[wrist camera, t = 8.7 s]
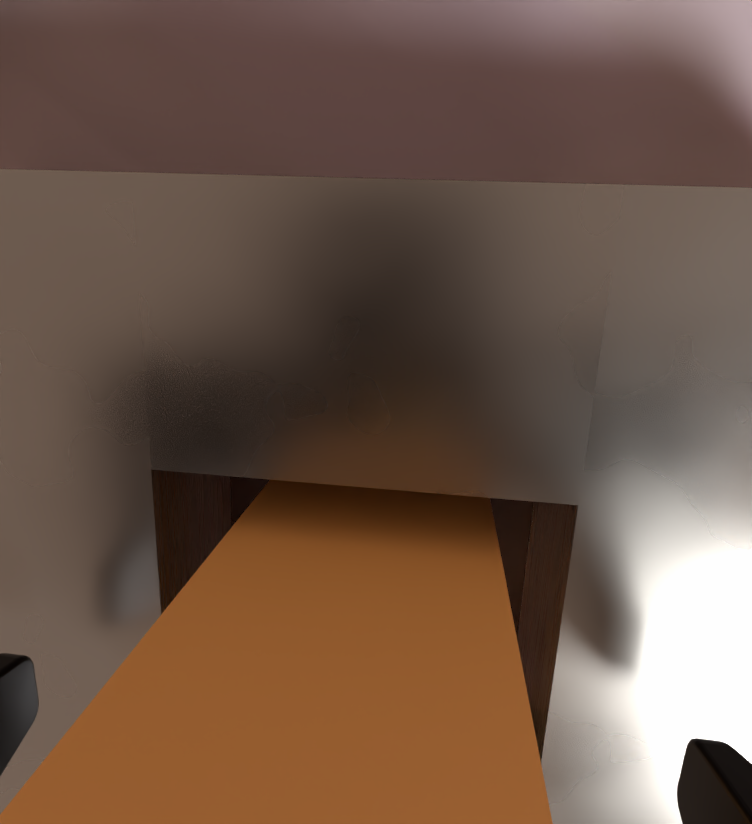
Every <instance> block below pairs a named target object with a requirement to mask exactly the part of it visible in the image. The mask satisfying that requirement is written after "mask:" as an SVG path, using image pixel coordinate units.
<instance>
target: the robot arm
mask: <svg viewBox="0 0 752 824" xmlns="http://www.w3.org/2000/svg"><path fill="white" fill-rule="evenodd" d="M38 707H39V698H38V691H37V684H36V677H35V670H34V664H33V661H32V660H31V658H30V657H28V656H25V655H18V654H10V653H1V654H0V776H1V775H2V773H3V771H4V770H5V768H6V767H7V765H8V763H9V762H10V760H11V758H12V757H13V755H14V753H15V752H16V750H17V749H18V747H19V745H20V744H21V742H22V740H23V739H24V737H25V735H26V734H27V732H28V731H29V729H30V727H31V726H32V724H33V722H34V720H35V718H36V715H37V712H38ZM677 802H678V808H679V813H680V816H681V820H682V823H683V824H752V763H750V762H749V761H748V760H747V759H746V758H745V757H743V756H742V755H741V754H740V753H739V752H738V751H736V750H735V749H734V748H733V747H731V746H730V745H729V744H727V743H725V742H722V741H716V740H708V739H700V738H694V739H691V740H690V741H689V742H688V744H687V747H686V750H685V755H684V759H683V764H682V768H681V773H680V777H679V781H678V786H677Z"/></svg>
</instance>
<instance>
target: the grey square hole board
mask: <svg viewBox="0 0 752 824" xmlns="http://www.w3.org/2000/svg"><path fill="white" fill-rule="evenodd" d="M230 476H234V477H246V478H258V479H270V480H282V481H294V482H306V483H318V484H330V485H342V486H354V487H366V488H378V489H390V490H402V491H414V492H426V493H437V494H449V495H461V496H473V497H485V498H497V499H509V500H521V501H533V502H534V503H533V511H532V519H531V527H530V535H529V544H528V552H527V560H526V568H525V577H524V585H523V593H522V601H521V609H520V618H519V626H518V634H517V641H518V646H519V652H520V657H521V662H522V667H523V672H524V678H525V683H526V688H527V693H528V698H529V704H530V709H531V714H532V719H533V724H534V730H535V735H536V740H537V745H538V750H539V756H540V761H541V766H542V771H543V776H544V781H545V787H546V792H547V797H548V802H549V807H550V813H551V818H552V823H553V824H683V823H682V820H681V816H680V813H679V808H678V802H677V786H678V781H679V777H680V773H681V768H682V764H683V759H684V755H685V750H686V747H687V744H688V742H689V741H690V740H691V739H694V738H700V739H708V740H716V741H722V742H725V743H727V744H729V745H730V746H731V747H733V748H734V749H735V750H736V751H738V752H739V753H740V754H741V755H742V756H743V757H745V758H746V759H747V760H748V761H749V762H750V763H752V188H746V187H706V186H666V185H626V184H586V183H547V182H507V181H467V180H427V179H387V178H347V177H307V176H268V175H228V174H188V173H148V172H108V171H68V170H28V169H0V654H1V653H10V654H18V655H25V656H28V657H30V658H31V660H32V661H33V664H34V670H35V677H36V684H37V691H38V698H39V707H38V712H37V715H36V718H35V720H34V722H33V724H32V726H31V727H30V729H29V731H28V732H27V734H26V735H25V737H24V739H23V740H22V742H21V744H20V745H19V747H18V749H17V750H16V752H15V753H14V755H13V757H12V758H11V760H10V762H9V763H8V765H7V767H6V768H5V770H4V771H3V773H2V775H1V776H0V814H1V813H2V812H3V810H4V809H5V808H6V807H7V805H8V804H9V803H10V802H11V800H12V799H13V798H14V797H15V796H16V794H17V793H18V792H19V791H20V789H21V788H22V787H23V786H24V784H25V783H26V782H27V781H28V779H29V778H30V777H31V776H32V774H33V773H34V772H35V771H36V769H37V768H38V767H39V766H40V765H41V763H42V762H43V761H44V760H45V758H46V757H47V756H48V755H49V753H50V752H51V751H52V750H53V748H54V747H55V746H56V745H57V743H58V742H59V741H60V740H61V738H62V737H63V736H64V735H65V733H66V732H67V731H68V730H69V729H70V727H71V726H72V725H73V724H74V722H75V721H76V720H77V719H78V717H79V716H80V715H81V714H82V712H83V711H84V710H85V709H86V707H87V706H88V705H89V704H90V702H91V701H92V700H93V699H94V697H95V696H96V695H97V694H98V693H99V691H100V690H101V689H102V688H103V686H104V685H105V684H106V683H107V681H108V680H109V679H110V678H111V676H112V675H113V674H114V673H115V671H116V670H117V669H118V668H119V666H120V665H121V664H122V663H123V661H124V660H125V659H126V658H127V657H128V655H129V654H130V653H131V652H132V650H133V649H134V648H135V647H136V645H137V644H138V643H139V642H140V640H141V639H142V638H143V637H144V635H145V634H146V633H147V632H148V630H149V629H150V628H151V627H152V625H153V624H154V623H155V622H156V621H157V619H158V618H159V617H160V616H161V614H162V613H163V612H164V611H165V609H166V608H167V607H168V606H169V604H170V603H171V602H172V601H173V599H174V598H175V597H176V596H177V594H178V593H179V592H180V591H181V589H182V588H183V587H184V586H185V585H186V583H187V582H188V581H189V580H190V578H191V577H192V576H193V575H194V573H195V572H196V571H197V570H198V568H199V567H200V566H201V565H202V563H203V562H204V561H205V560H206V558H207V557H208V556H209V555H210V553H211V552H212V551H213V550H214V549H215V547H216V546H217V545H218V544H219V542H220V541H221V540H222V539H223V537H224V536H225V535H226V534H227V532H228V531H229V530H230V529H231V527H232V524H231V491H230Z"/></svg>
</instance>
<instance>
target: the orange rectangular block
mask: <svg viewBox="0 0 752 824" xmlns="http://www.w3.org/2000/svg"><path fill="white" fill-rule="evenodd" d="M0 824H553V823H552V818H551V813H550V807H549V802H548V797H547V792H546V787H545V781H544V776H543V771H542V766H541V761H540V756H539V750H538V745H537V740H536V735H535V730H534V724H533V719H532V714H531V709H530V704H529V698H528V693H527V688H526V683H525V678H524V672H523V667H522V662H521V657H520V652H519V646H518V641H517V636H516V631H515V626H514V621H513V615H512V610H511V605H510V600H509V595H508V589H507V584H506V579H505V574H504V569H503V563H502V558H501V553H500V548H499V543H498V537H497V532H496V527H495V522H494V517H493V511H492V506H491V501H490V498H485V497H473V496H461V495H449V494H437V493H426V492H414V491H402V490H390V489H378V488H366V487H354V486H342V485H330V484H318V483H306V482H294V481H282V480H269V481H268V483H267V484H266V485H265V486H264V488H263V489H262V490H261V491H260V493H259V494H258V495H257V496H256V498H255V499H254V500H253V501H252V503H251V504H250V505H249V506H248V508H247V509H246V510H245V511H244V513H243V514H242V515H241V516H240V517H239V519H238V520H237V521H236V522H235V524H234V525H233V526H232V527H231V529H230V530H229V531H228V532H227V534H226V535H225V536H224V537H223V539H222V540H221V541H220V542H219V544H218V545H217V546H216V547H215V549H214V550H213V551H212V552H211V553H210V555H209V556H208V557H207V558H206V560H205V561H204V562H203V563H202V565H201V566H200V567H199V568H198V570H197V571H196V572H195V573H194V575H193V576H192V577H191V578H190V580H189V581H188V582H187V583H186V585H185V586H184V587H183V588H182V589H181V591H180V592H179V593H178V594H177V596H176V597H175V598H174V599H173V601H172V602H171V603H170V604H169V606H168V607H167V608H166V609H165V611H164V612H163V613H162V614H161V616H160V617H159V618H158V619H157V621H156V622H155V623H154V624H153V625H152V627H151V628H150V629H149V630H148V632H147V633H146V634H145V635H144V637H143V638H142V639H141V640H140V642H139V643H138V644H137V645H136V647H135V648H134V649H133V650H132V652H131V653H130V654H129V655H128V657H127V658H126V659H125V660H124V661H123V663H122V664H121V665H120V666H119V668H118V669H117V670H116V671H115V673H114V674H113V675H112V676H111V678H110V679H109V680H108V681H107V683H106V684H105V685H104V686H103V688H102V689H101V690H100V691H99V693H98V694H97V695H96V696H95V697H94V699H93V700H92V701H91V702H90V704H89V705H88V706H87V707H86V709H85V710H84V711H83V712H82V714H81V715H80V716H79V717H78V719H77V720H76V721H75V722H74V724H73V725H72V726H71V727H70V729H69V730H68V731H67V732H66V733H65V735H64V736H63V737H62V738H61V740H60V741H59V742H58V743H57V745H56V746H55V747H54V748H53V750H52V751H51V752H50V753H49V755H48V756H47V757H46V758H45V760H44V761H43V762H42V763H41V765H40V766H39V767H38V768H37V769H36V771H35V772H34V773H33V774H32V776H31V777H30V778H29V779H28V781H27V782H26V783H25V784H24V786H23V787H22V788H21V789H20V791H19V792H18V793H17V794H16V796H15V797H14V798H13V799H12V800H11V802H10V803H9V804H8V805H7V807H6V808H5V809H4V810H3V812H2V813H1V814H0Z"/></svg>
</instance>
